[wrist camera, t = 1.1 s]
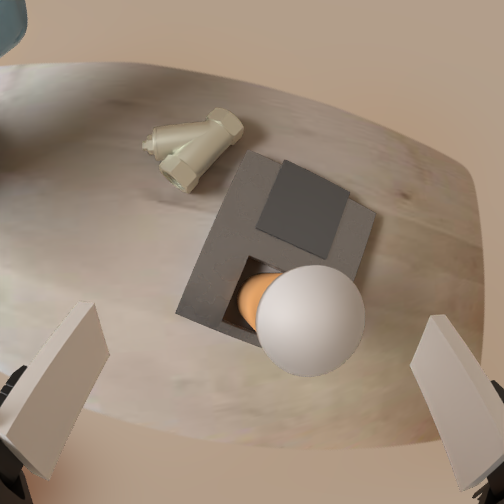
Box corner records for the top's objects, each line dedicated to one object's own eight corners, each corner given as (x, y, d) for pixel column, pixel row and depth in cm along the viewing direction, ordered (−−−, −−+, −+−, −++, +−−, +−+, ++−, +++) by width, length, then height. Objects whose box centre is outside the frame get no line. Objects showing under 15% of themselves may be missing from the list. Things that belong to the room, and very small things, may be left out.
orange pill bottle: (222, 316, 28) (240, 356, 15) (247, 259, 29) (286, 246, 15) (279, 338, 29) (339, 388, 15) (302, 283, 30) (379, 289, 16)
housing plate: (177, 310, 28) (175, 313, 26) (244, 157, 30) (247, 149, 28) (311, 361, 29) (318, 367, 27) (366, 216, 31) (376, 213, 29)
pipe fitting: (139, 158, 29) (189, 198, 29) (129, 141, 25) (184, 184, 25) (193, 105, 30) (242, 139, 30) (190, 84, 26) (245, 120, 26)
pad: (255, 227, 27) (256, 227, 27) (284, 160, 28) (284, 159, 28) (325, 259, 28) (326, 259, 28) (348, 192, 29) (350, 192, 29)
